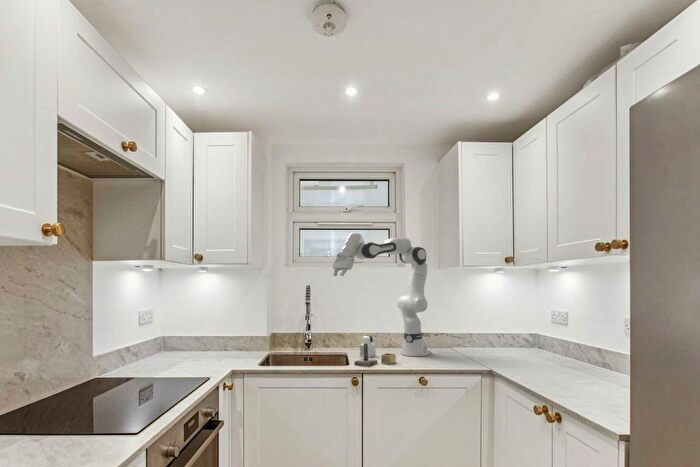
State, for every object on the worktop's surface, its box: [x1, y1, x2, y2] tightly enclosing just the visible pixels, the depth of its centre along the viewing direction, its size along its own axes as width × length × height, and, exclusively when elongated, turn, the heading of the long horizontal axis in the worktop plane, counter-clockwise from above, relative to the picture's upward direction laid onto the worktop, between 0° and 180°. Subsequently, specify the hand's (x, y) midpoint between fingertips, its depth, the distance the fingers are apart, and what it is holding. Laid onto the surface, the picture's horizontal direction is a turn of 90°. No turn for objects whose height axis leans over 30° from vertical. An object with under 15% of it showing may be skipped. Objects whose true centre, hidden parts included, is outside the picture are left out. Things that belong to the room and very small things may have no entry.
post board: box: [353, 343, 378, 367], centre depth 245 cm, size 10×10×12 cm
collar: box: [380, 352, 397, 365], centre depth 248 cm, size 6×6×5 cm
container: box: [359, 335, 377, 358], centre depth 270 cm, size 8×8×13 cm
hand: (338, 275), depth 251 cm, fingers open, 8 cm apart
